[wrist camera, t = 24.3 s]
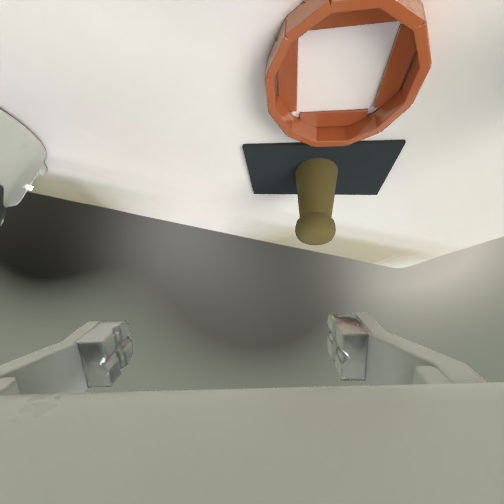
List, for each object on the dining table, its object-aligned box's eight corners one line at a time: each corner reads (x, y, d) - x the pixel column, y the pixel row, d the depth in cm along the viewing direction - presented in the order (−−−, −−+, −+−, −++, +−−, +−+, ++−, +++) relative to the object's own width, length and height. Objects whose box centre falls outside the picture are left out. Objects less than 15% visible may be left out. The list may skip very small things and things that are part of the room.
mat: (254, 191, 44) (254, 193, 44) (243, 144, 34) (242, 147, 34) (376, 192, 40) (376, 194, 40) (405, 139, 30) (405, 142, 30)
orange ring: (273, 133, 31) (271, 148, 31) (261, -11, 19) (257, 8, 18) (390, 128, 29) (392, 145, 28) (465, -39, 16) (472, -18, 16)
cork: (332, 152, 33) (332, 228, 29) (342, 179, 38) (343, 247, 34) (289, 164, 36) (284, 235, 32) (303, 188, 41) (300, 251, 37)
